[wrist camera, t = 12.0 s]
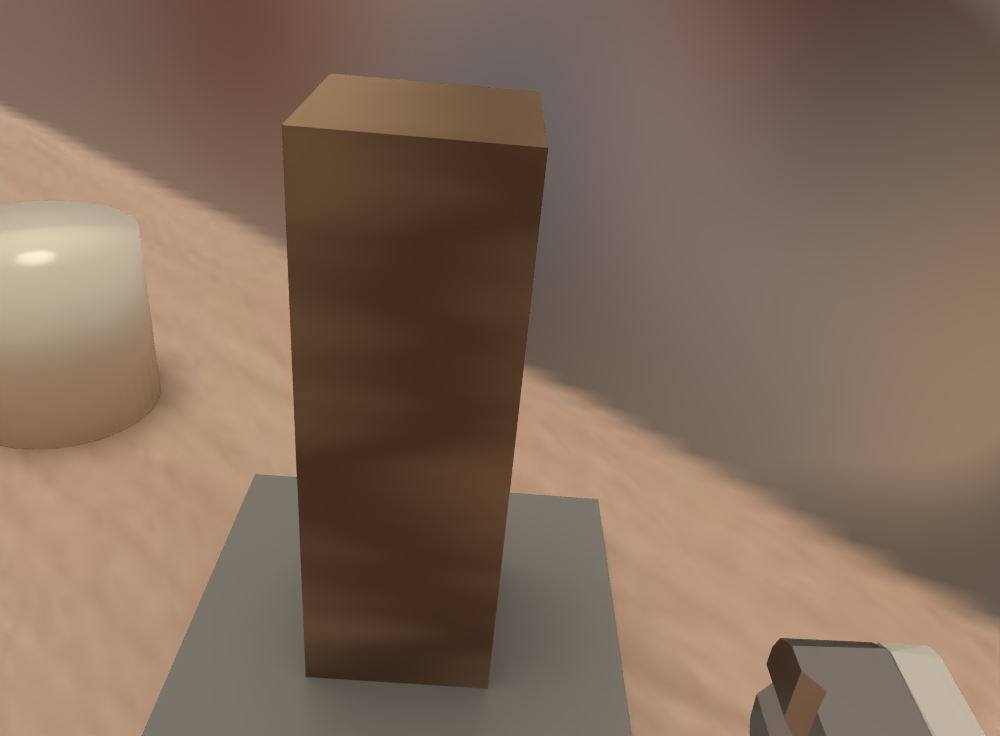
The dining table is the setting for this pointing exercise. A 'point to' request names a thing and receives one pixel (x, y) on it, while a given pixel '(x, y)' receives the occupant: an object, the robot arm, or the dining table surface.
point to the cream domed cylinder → (72, 325)
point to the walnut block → (407, 365)
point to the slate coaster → (399, 706)
